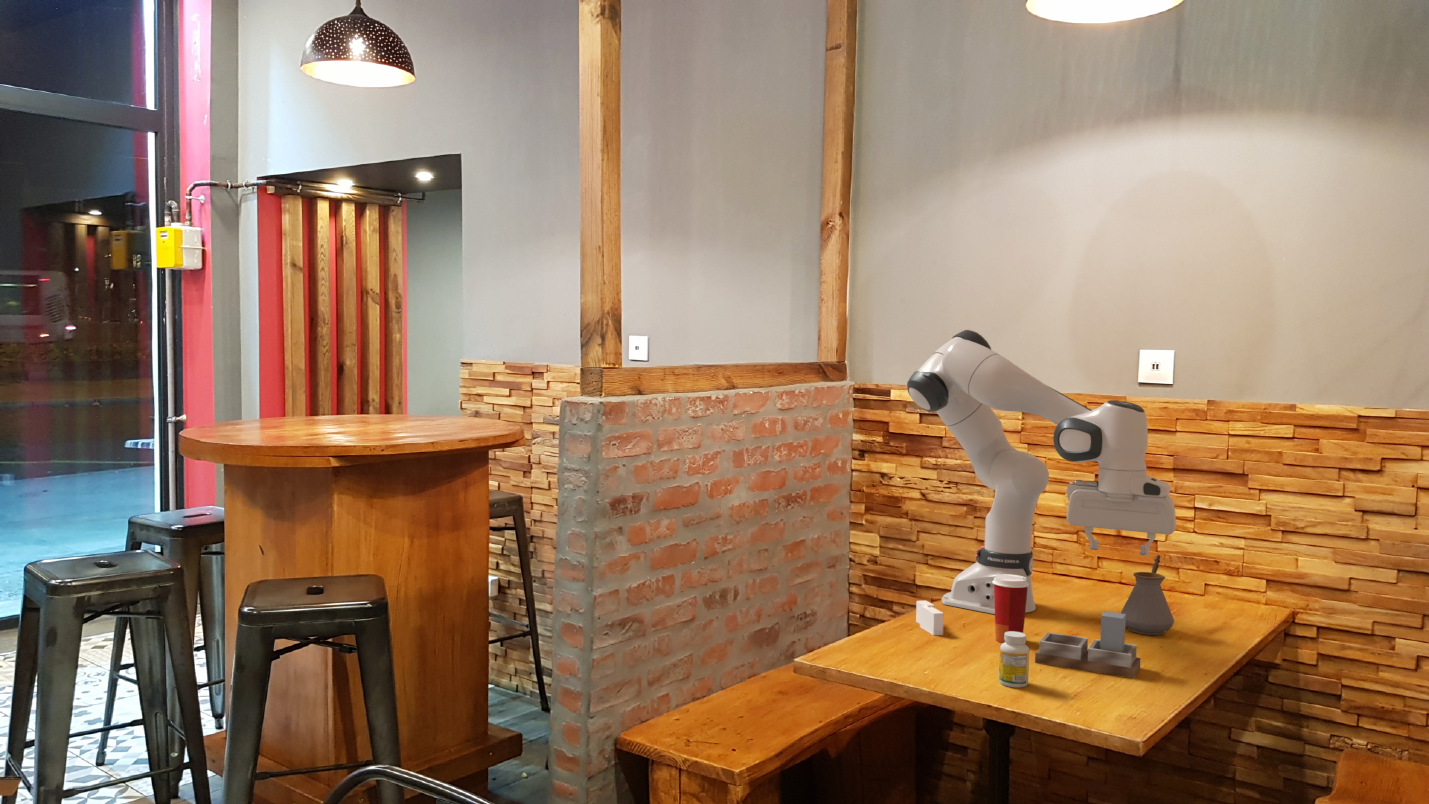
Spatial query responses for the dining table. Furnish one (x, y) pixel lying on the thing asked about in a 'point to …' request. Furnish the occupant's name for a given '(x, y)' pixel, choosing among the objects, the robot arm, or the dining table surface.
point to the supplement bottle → (1014, 660)
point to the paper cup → (1009, 604)
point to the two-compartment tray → (1087, 655)
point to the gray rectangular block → (1113, 632)
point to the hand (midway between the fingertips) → (1119, 552)
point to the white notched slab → (929, 617)
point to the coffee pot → (1148, 604)
